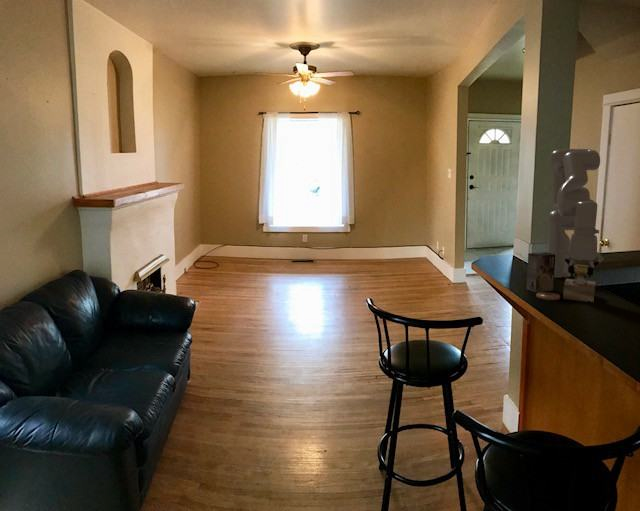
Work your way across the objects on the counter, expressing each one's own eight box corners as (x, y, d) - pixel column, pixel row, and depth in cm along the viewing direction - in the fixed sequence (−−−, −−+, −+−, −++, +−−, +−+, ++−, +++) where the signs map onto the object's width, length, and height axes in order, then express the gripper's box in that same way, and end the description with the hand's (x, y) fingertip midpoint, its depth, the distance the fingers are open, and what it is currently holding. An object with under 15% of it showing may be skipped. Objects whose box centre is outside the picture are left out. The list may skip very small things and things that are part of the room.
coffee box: (543, 287, 226) (546, 251, 223) (553, 290, 220) (556, 254, 217) (525, 288, 224) (528, 253, 220) (535, 292, 218) (538, 255, 214)
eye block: (564, 292, 217) (566, 278, 216) (594, 295, 212) (595, 281, 211) (562, 298, 208) (564, 284, 207) (593, 302, 203) (594, 287, 202)
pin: (570, 294, 214) (573, 263, 212) (587, 295, 211) (589, 265, 209) (570, 297, 209) (572, 266, 206) (586, 299, 206) (589, 268, 204)
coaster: (537, 293, 216) (537, 291, 216) (561, 296, 212) (561, 293, 212) (535, 298, 208) (535, 296, 208) (559, 301, 204) (559, 299, 204)
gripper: (609, 232, 204) (604, 276, 208) (561, 229, 212) (558, 271, 216) (609, 234, 198) (604, 280, 201) (560, 232, 206) (556, 275, 209)
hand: (580, 275), depth 208 cm, fingers closed on pin, 6 cm apart
